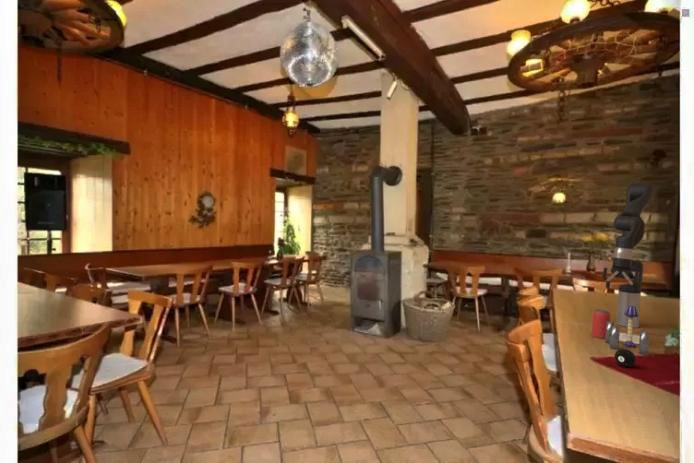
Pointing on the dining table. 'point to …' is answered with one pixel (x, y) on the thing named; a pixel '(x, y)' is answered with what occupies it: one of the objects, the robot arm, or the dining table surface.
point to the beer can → (600, 323)
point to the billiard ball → (625, 357)
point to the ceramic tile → (625, 336)
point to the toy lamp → (630, 324)
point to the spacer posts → (613, 338)
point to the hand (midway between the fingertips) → (618, 290)
